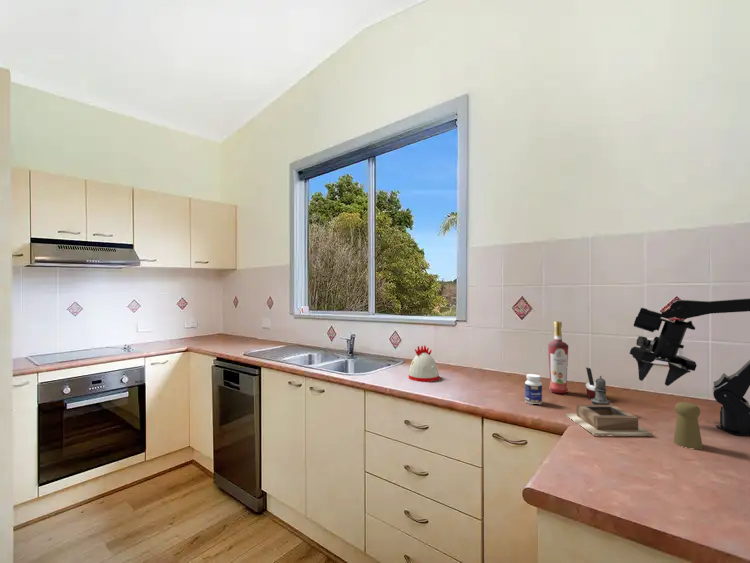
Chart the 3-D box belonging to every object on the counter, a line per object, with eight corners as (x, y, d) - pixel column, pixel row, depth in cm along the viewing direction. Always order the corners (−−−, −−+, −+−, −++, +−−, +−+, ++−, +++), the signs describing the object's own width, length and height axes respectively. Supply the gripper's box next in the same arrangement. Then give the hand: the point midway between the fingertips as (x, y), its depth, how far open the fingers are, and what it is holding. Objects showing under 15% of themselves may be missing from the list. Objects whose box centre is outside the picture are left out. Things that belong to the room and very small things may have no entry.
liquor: (550, 394, 145) (549, 322, 146) (546, 389, 153) (545, 320, 153) (571, 395, 144) (570, 322, 144) (566, 390, 151) (565, 321, 151)
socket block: (651, 436, 105) (651, 420, 105) (594, 436, 105) (593, 420, 105) (616, 416, 121) (616, 402, 121) (566, 416, 121) (566, 402, 121)
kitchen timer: (404, 375, 177) (403, 344, 177) (430, 373, 181) (430, 342, 181) (416, 383, 164) (415, 348, 164) (444, 380, 168) (443, 347, 168)
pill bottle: (532, 405, 132) (531, 377, 132) (521, 401, 137) (521, 374, 138) (545, 404, 133) (545, 376, 134) (534, 399, 139) (534, 372, 139)
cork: (673, 437, 104) (673, 398, 104) (702, 443, 100) (701, 402, 100) (673, 445, 99) (672, 403, 99) (703, 451, 96) (702, 408, 96)
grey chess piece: (614, 414, 123) (613, 378, 123) (594, 413, 124) (594, 377, 124) (606, 408, 128) (606, 374, 128) (588, 407, 129) (587, 373, 130)
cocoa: (600, 396, 143) (600, 365, 144) (612, 401, 137) (612, 368, 138) (577, 396, 142) (577, 365, 143) (589, 401, 136) (589, 368, 137)
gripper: (676, 335, 127) (659, 376, 130) (625, 324, 125) (610, 367, 128) (706, 347, 116) (687, 392, 119) (651, 335, 114) (634, 382, 117)
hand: (653, 382), depth 121 cm, fingers open, 9 cm apart
